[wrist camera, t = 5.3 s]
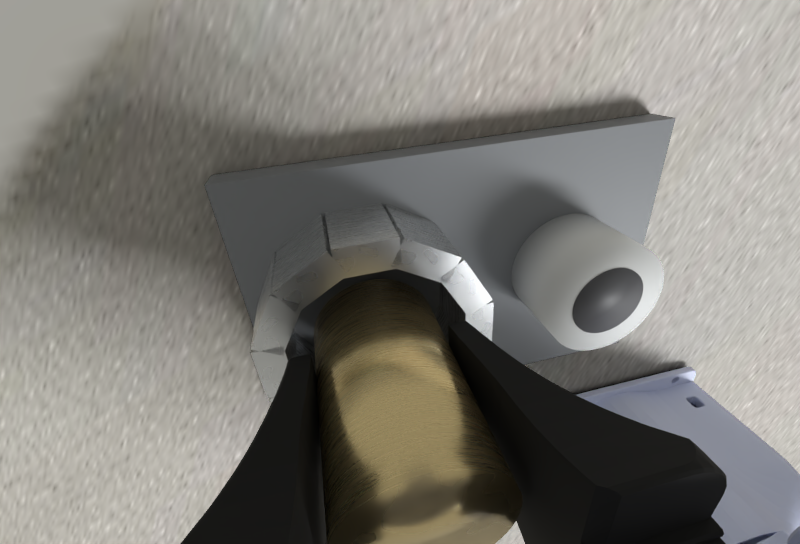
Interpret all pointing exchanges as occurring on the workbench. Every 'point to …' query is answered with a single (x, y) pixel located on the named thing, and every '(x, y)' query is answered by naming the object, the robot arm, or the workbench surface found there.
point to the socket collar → (353, 256)
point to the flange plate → (486, 224)
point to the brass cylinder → (403, 427)
